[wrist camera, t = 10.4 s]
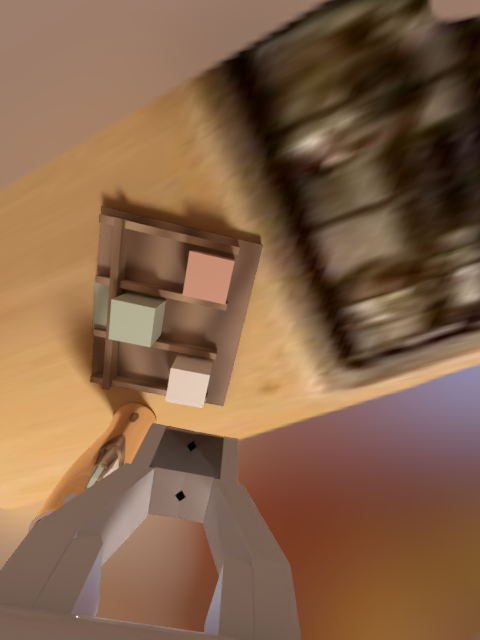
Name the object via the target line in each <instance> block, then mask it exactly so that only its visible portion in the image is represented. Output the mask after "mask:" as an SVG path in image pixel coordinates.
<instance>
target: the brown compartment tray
mask: <svg viewBox="0 0 480 640" xmlns="http://www.w3.org/2000/svg"><path fill="white" fill-rule="evenodd" d="M99 222H100V238H99V256H98V273H97V275H96V280H95V292H94V311H93V328H94V329H93V335H94V344H93V362H92V376H91V378H90V382H94V383H99V384H102V389H108V390H109V389H110V387H111V386H116V387H121V388H126V389H132V390H137V391H143V392H148V393H154V394H159V395H164V396H166V394H167V388H168V382H169V375H170V369H171V366H172V365H173V363H174V361H175V359H176V357H177V355H178V354H179V353H182V354H187V355H192V356H197V357H202V358H207V359H212V360H213V363H212V368H211V373H210V378H209V382H208V387H207V392H206V396H205V401H204V403H209V404H215V405H220V406H224V402H225V398H226V394H227V389H228V385H229V381H230V377H231V373H232V369H233V365H234V361H235V357H236V353H237V348H238V344H239V340H240V336H241V332H242V328H243V324H244V320H245V316H246V312H247V308H248V303H249V299H250V295H251V291H252V287H253V283H254V279H255V275H256V271H257V267H258V263H259V258H260V254H261V250H262V246H263V245H260V244H256V243H252V242H248V241H244V240H240V239H236V238H231V237H227V236H223V235H219V234H215V233H211V232H207V231H202V230H198V229H194V228H190V227H186V226H182V225H178V224H173V223H169V222H165V221H161V220H157V219H153V218H149V217H144V216H140V215H136V214H132V213H128V212H124V211H120V210H116V209H111V208H107V207H103V206H101V214H99ZM195 250H197V251H201V252H205V253H209V254H214V255H218V256H222V257H227V258H231V259H235V262H234V267H233V271H232V276H231V280H230V285H229V290H228V294H227V299H226V304H220V303H215V302H211V301H206V300H202V299H197V298H193V297H188V296H183V289H184V282H185V276H186V270H187V264H188V258H189V251H195ZM127 292H130V293H135V294H139V295H144V296H148V297H153V298H158V299H162V300H166V304H165V311H164V318H163V325H162V332H161V335H160V336H159V338H158V339H157V340H156V341H155V342H154V343H153V345H152V346H151V347H146V346H141V345H136V344H131V343H126V342H121V341H116V340H111V339H108V338H109V325H110V312H111V299H113V298H115V297H118V296H120V295H123V294H125V293H127Z"/></svg>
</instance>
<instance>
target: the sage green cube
mask: <svg viewBox="0 0 480 640" xmlns="http://www.w3.org/2000/svg"><path fill="white" fill-rule="evenodd" d="M165 304H166V300H162V299H158V298H153V297H148V296H144V295H139V294H135V293H130V292H127V293H125V294H123V295H120V296H118V297H115V298H113V299H111V312H110V325H109V338H108V339H111V340H116V341H121V342H126V343H131V344H136V345H141V346H146V347H151V346H152V345H153V343H154V342H155V341H156V340H157V339H158V338H159V336H160V335H161V332H162V325H163V318H164V311H165Z"/></svg>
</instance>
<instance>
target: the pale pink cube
mask: <svg viewBox="0 0 480 640" xmlns="http://www.w3.org/2000/svg"><path fill="white" fill-rule="evenodd" d="M212 363H213V360H212V359H207V358H202V357H197V356H192V355H187V354H182V353H179V354H178V355H177V357H176V359H175V361H174V363H173V365H172V366H171V369H170V375H169V382H168V388H167V394H166V400H165V401H167V402H172V403H178V404H183V405H189V406H194V407H200V408H203V405H204V401H205V396H206V392H207V387H208V382H209V378H210V373H211V368H212Z"/></svg>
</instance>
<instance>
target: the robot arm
mask: <svg viewBox="0 0 480 640" xmlns="http://www.w3.org/2000/svg"><path fill="white" fill-rule="evenodd" d="M238 450H239V441H238V439H236V438H230V437H223V436H218V435H212V434H207V433H201V432H195V431H190V430H185V429H181V428H176V427H171V426H165V425H160V424H156V423H153V424H152V425H151V426H150V428H149V430H148V431H147V433H146V435H145V437H144V439H143V441H142V443H141V445H140V447H139V449H138V451H137V453H136V455H135V457H134V458H133V460H132V462H131V464H129V463H125V464H124V465H122V466H121V467H119V468H118V469H116V470H115V471H113V472H112V473H110V474H109V475H107V476H106V477H104V478H103V479H101V480H100V481H98V482H97V483H95V484H94V485H92V486H91V487H89V488H88V489H86V490H85V491H83V492H82V493H80V494H79V495H77V496H76V497H74V498H73V499H72V500H70V501H69V502H67V503H66V504H64V505H63V506H61V507H60V508H58V509H57V510H55V511H54V512H52V513H51V514H49V515H48V516H46V517H45V518H43V519H42V520H40V521H39V522H37V523H36V524H35V525H34V526H33V528H32V529H31V530H30V532H29V533H28V534H27V536H26V537H25V539H24V540H23V541H22V542H21V544H20V545H19V546H18V548H17V549H16V550H15V552H14V553H13V554H12V556H11V557H10V558H9V560H8V561H7V562H6V564H5V565H4V566H3V568H2V569H1V570H0V640H301V635H300V628H299V621H298V614H297V607H296V601H295V595H294V587H293V580H292V574H291V567H290V564H289V562H288V561H287V559H286V557H285V556H284V554H283V552H282V550H281V549H280V547H279V545H278V543H277V542H276V540H275V538H274V537H273V535H272V534H271V532H270V530H269V528H268V526H267V525H266V523H265V521H264V520H263V518H262V516H261V515H260V513H259V511H258V509H257V508H256V506H255V504H254V503H253V501H252V499H251V497H250V496H249V494H248V492H247V491H246V489H245V487H244V485H243V484H241V483H238ZM148 514H153V515H160V516H167V517H175V518H181V519H185V520H190V521H195V522H200V523H204V524H203V526H204V529H205V532H206V535H207V538H208V542H209V545H210V548H211V551H212V555H213V558H214V561H215V564H216V568H217V571H218V574H219V580H218V583H217V586H216V589H215V592H214V596H213V599H212V602H211V606H210V609H209V612H208V615H207V618H206V622H205V628H204V629H205V630H204V633H202V632H196V631H189V630H182V629H175V628H168V627H160V626H154V625H147V624H140V623H133V622H126V621H119V620H111V619H105V618H98V617H95V615H96V613H97V610H98V605H99V593H100V592H99V591H100V579H101V566H102V565H103V563H105V562H106V560H107V559H108V558H109V557H110V556H111V555H112V554H113V553H114V552H115V551H116V550H117V549H118V548H119V546H120V545H121V544H122V543H123V542H124V541H125V540H126V539H127V538H128V537H129V536H130V534H131V533H132V532H133V531H134V530H135V529H136V528H137V527H138V526H139V525H140V524H141V523H142V522H143V521H144V519H145V518H146V517H147V516H148Z"/></svg>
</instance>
